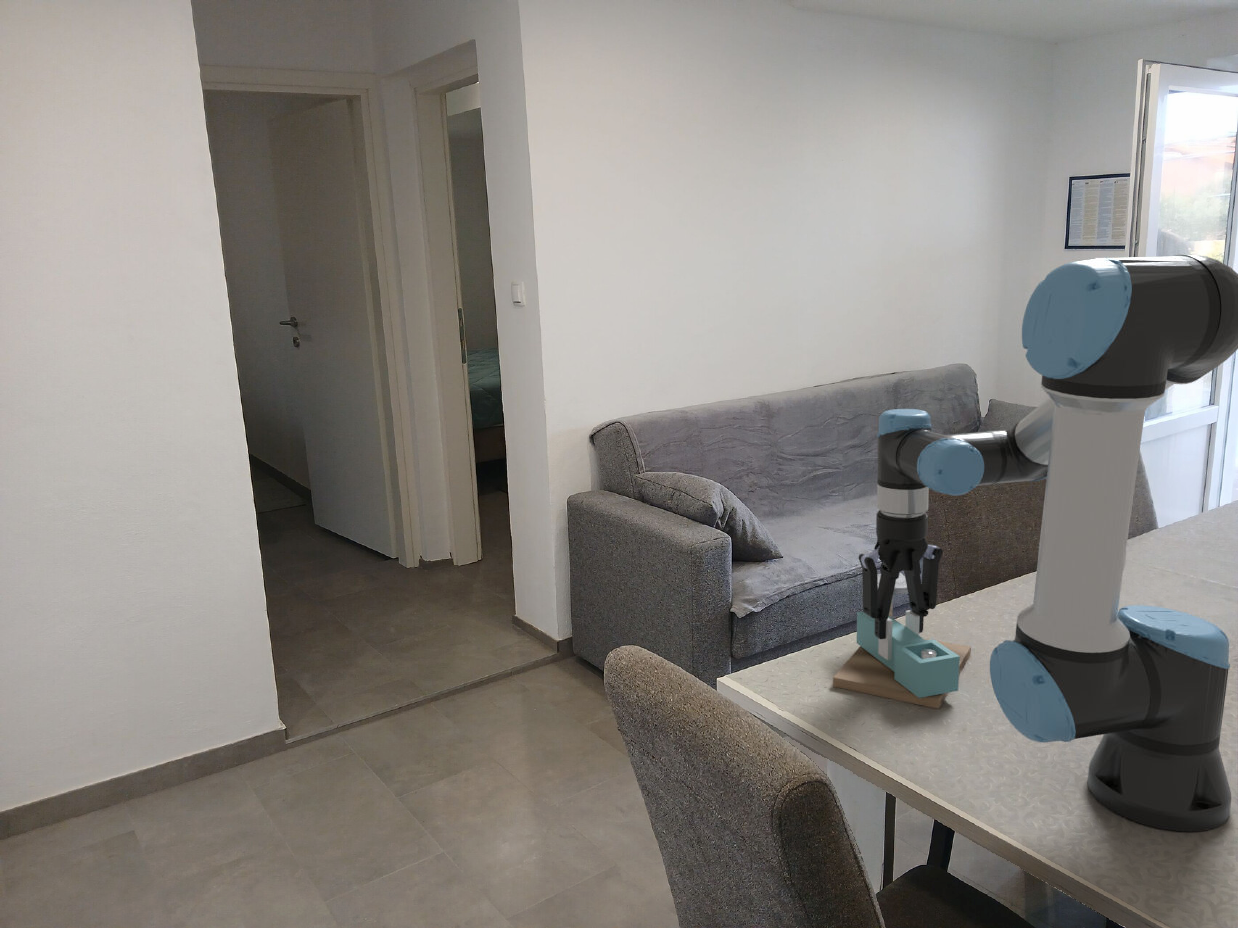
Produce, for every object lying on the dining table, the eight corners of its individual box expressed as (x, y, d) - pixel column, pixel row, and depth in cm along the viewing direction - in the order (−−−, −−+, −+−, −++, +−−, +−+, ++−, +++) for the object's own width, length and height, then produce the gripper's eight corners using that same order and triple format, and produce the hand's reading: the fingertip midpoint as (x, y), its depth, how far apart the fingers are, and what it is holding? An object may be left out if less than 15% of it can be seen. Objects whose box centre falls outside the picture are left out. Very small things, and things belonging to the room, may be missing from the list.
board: (938, 708, 140) (938, 699, 140) (832, 686, 148) (833, 677, 148) (970, 655, 157) (970, 646, 157) (874, 637, 166) (874, 629, 165)
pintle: (932, 699, 143) (934, 656, 141) (918, 696, 144) (919, 653, 142) (936, 693, 144) (938, 650, 143) (921, 690, 146) (923, 648, 144)
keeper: (913, 655, 158) (915, 586, 155) (877, 657, 158) (879, 589, 155) (899, 638, 165) (901, 572, 162) (864, 640, 164) (866, 574, 162)
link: (958, 690, 141) (959, 656, 140) (918, 697, 140) (920, 663, 138) (884, 638, 160) (885, 607, 159) (849, 644, 159) (850, 613, 158)
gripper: (936, 499, 151) (932, 637, 156) (839, 511, 147) (837, 653, 152) (965, 511, 144) (959, 655, 149) (864, 523, 140) (861, 672, 145)
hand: (898, 654), depth 150 cm, fingers closed on link, 4 cm apart
